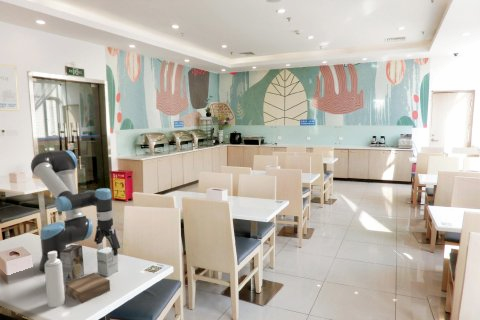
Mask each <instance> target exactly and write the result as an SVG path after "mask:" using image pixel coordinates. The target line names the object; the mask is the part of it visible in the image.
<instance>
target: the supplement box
mask: <svg viewBox="0 0 480 320" xmlns="http://www.w3.org/2000/svg"><path fill="white" fill-rule="evenodd" d="M96 257H97V258H96V260H97V262H96V263H97V275H100V276H105V277H107V278H108V277H110V276H113V275H114V274H116V273H118V272H119V260H118V261H115V262H112V247H109V246H107V247H103V249H101V250H99V251H98V250H97V251H96Z"/></svg>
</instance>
